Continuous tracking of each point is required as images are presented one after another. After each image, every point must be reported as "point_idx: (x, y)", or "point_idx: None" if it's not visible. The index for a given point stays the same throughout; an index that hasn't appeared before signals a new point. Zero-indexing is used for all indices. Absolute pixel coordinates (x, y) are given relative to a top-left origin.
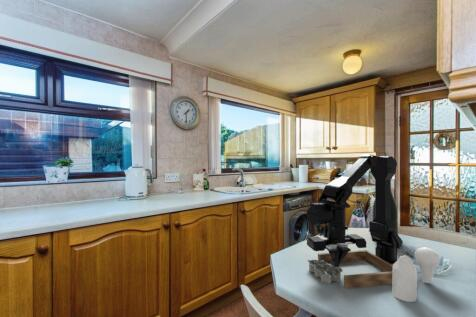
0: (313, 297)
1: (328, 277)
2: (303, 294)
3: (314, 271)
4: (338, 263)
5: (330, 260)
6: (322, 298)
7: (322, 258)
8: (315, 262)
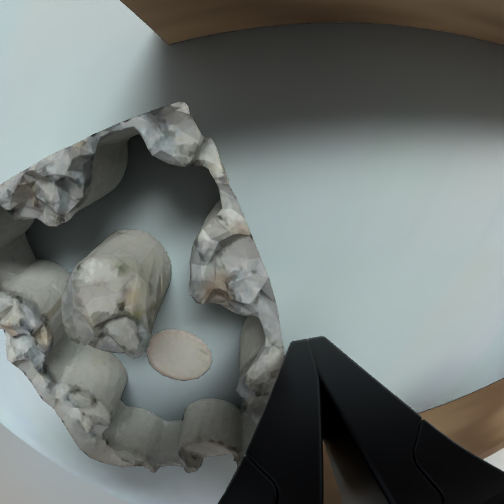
0: (83, 469)
1: (156, 458)
2: (44, 449)
3: (62, 277)
4: (327, 442)
5: (360, 10)
6: (118, 480)
7: (212, 5)
8: (38, 213)
